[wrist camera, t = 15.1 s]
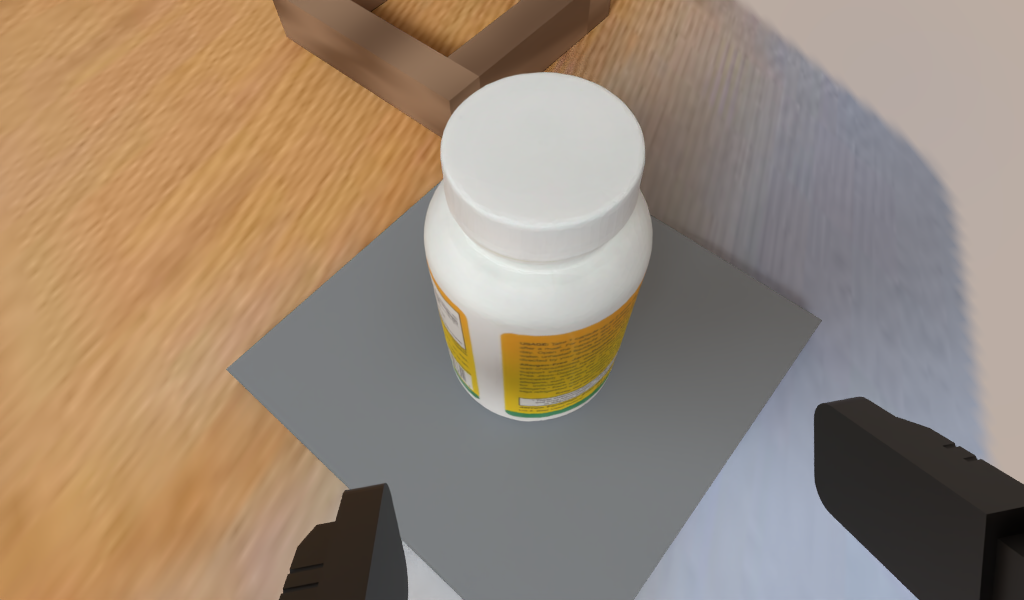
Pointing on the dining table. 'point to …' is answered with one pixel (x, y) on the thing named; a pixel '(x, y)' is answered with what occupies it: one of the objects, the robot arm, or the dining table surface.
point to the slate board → (529, 444)
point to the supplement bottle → (538, 241)
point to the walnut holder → (422, 70)
